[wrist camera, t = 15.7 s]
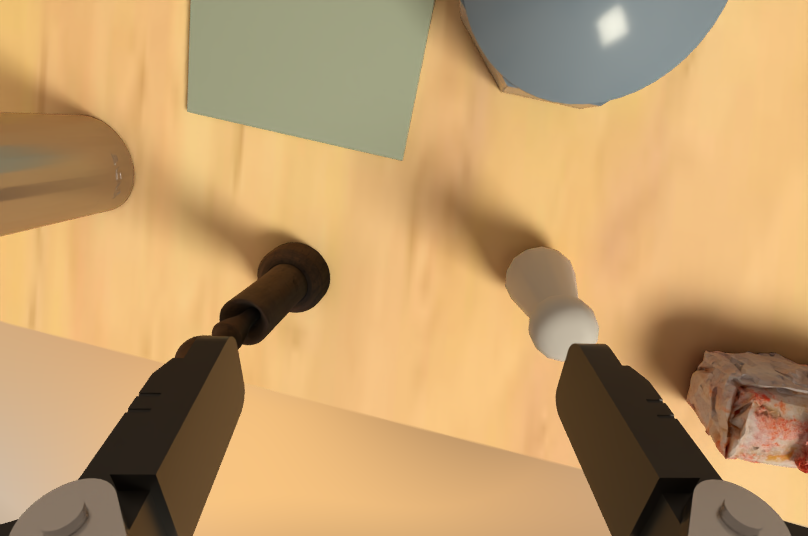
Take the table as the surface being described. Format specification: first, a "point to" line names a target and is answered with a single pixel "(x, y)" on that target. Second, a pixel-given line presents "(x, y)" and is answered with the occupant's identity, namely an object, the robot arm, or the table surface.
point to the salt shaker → (550, 301)
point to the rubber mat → (311, 67)
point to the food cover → (585, 44)
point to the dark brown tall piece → (272, 295)
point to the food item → (753, 406)
